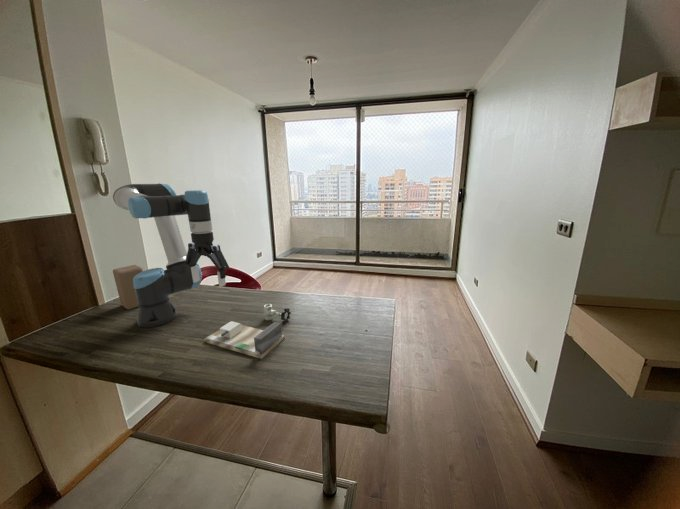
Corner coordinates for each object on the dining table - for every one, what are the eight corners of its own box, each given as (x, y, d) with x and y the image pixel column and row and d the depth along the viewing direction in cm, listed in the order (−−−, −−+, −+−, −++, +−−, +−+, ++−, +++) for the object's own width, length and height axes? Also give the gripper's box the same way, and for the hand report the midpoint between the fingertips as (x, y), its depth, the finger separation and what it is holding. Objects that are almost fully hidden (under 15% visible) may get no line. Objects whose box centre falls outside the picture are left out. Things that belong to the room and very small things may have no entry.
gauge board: (204, 341, 103) (202, 325, 101) (231, 324, 116) (229, 310, 114) (261, 359, 93) (259, 341, 91) (284, 338, 105) (283, 322, 103)
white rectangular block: (215, 339, 102) (214, 331, 101) (232, 328, 110) (231, 321, 109) (225, 342, 101) (223, 334, 100) (241, 331, 108) (240, 323, 107)
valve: (260, 321, 119) (283, 326, 115) (259, 307, 117) (282, 312, 113) (269, 314, 125) (291, 318, 120) (268, 301, 123) (290, 305, 119)
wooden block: (143, 298, 144) (135, 264, 139) (150, 303, 138) (142, 267, 133) (120, 305, 136) (111, 269, 131) (127, 310, 130) (118, 272, 125)
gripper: (169, 231, 101) (178, 282, 106) (219, 236, 92) (226, 291, 98) (186, 228, 107) (194, 276, 113) (234, 232, 99) (240, 284, 105)
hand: (209, 283), depth 106 cm, fingers open, 13 cm apart
